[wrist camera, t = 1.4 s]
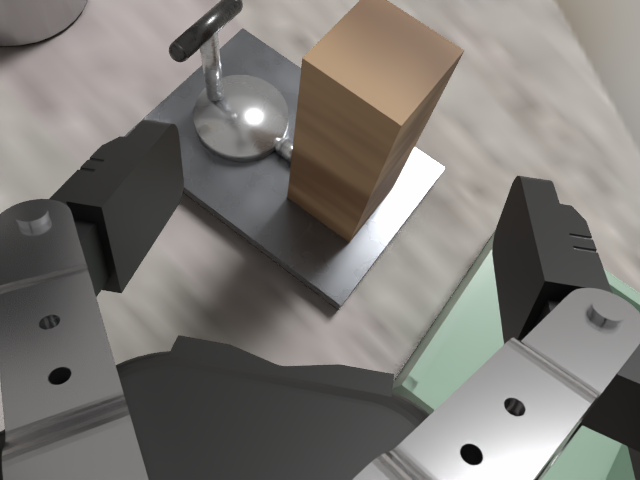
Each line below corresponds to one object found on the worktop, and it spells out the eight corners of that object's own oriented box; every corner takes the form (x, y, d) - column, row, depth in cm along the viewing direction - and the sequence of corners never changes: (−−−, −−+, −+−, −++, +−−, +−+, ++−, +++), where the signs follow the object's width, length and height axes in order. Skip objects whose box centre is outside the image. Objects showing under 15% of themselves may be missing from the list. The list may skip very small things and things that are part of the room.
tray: (581, 539, 27) (618, 550, 24) (387, 390, 29) (401, 384, 26) (669, 350, 31) (709, 341, 28) (496, 229, 33) (517, 209, 30)
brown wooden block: (349, 242, 30) (401, 125, 19) (287, 197, 31) (302, 58, 20) (393, 188, 32) (464, 50, 21) (332, 145, 33) (370, -11, 21)
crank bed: (338, 309, 30) (363, 266, 23) (125, 148, 32) (85, 60, 25) (440, 175, 34) (490, 100, 26) (243, 39, 36) (238, -66, 29)
